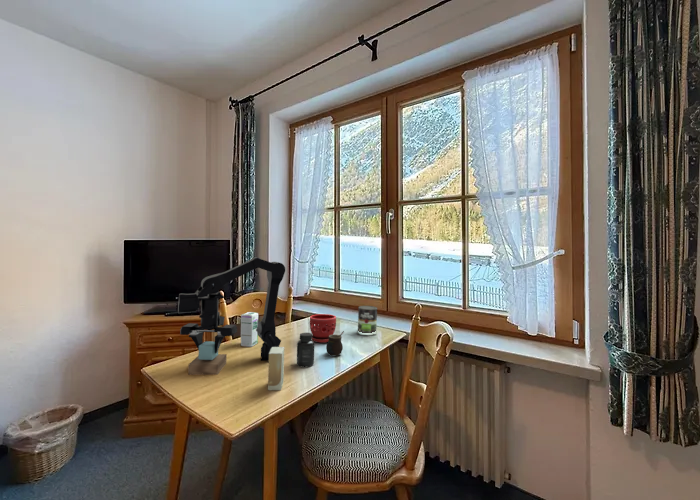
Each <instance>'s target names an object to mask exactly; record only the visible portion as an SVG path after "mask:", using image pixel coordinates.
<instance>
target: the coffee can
mask: <svg viewBox="0 0 700 500" xmlns="http://www.w3.org/2000/svg"><path fill="white" fill-rule="evenodd" d="M357 315H358V316H357V317H358V319H357V322H358V323H357V332H358V331H359V332H362V333H372V332H375V331H376V332H377V326H378V324H377V320H378V319H377V318H378V307H376V306H373V305H360V306H358V314H357Z"/></svg>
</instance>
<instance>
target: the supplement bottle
mask: <svg viewBox="0 0 700 500" xmlns="http://www.w3.org/2000/svg"><path fill="white" fill-rule="evenodd" d="M314 364H315V341H313V340H312V333H311V332H302V333H300V334H299V340H298V341H297V343H296V365H297V366H298V367H300V368H309V367H312V366H313V365H314Z"/></svg>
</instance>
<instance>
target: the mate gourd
mask: <svg viewBox="0 0 700 500" xmlns="http://www.w3.org/2000/svg"><path fill="white" fill-rule="evenodd" d="M344 333H345V331H344V330H343V331H342V332H341V333H340V334H333V335H329V338H328V339H329V340H328V343H327V342H326V346H325V350H326V353H327V354H328V355H329V356H330V355H331V356H332V357H338V356H340V355H341V354H342V351H343V350H344V349H343V344H342V335H343V334H344Z"/></svg>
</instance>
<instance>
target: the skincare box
mask: <svg viewBox="0 0 700 500" xmlns="http://www.w3.org/2000/svg"><path fill="white" fill-rule="evenodd" d="M284 366H285V346H279V347H272V348H271V350H270V352H269V361H268V374H267V375H268V377H267V379H268V380H267V390H268V391H281V390H282V389H283V385H284V375H285V374H284V372H285V371H284V369H285V367H284Z"/></svg>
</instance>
